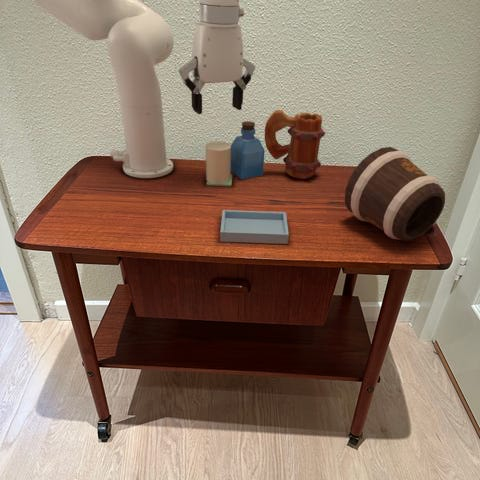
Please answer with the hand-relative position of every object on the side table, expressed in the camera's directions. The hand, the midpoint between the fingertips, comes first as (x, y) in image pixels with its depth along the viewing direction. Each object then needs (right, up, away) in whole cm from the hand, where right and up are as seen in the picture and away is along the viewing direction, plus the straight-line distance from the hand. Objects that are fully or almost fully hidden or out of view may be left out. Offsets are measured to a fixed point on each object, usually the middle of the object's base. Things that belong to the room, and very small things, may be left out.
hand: (217, 110), depth 94 cm
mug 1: (+18, -9, +15) cm, 25 cm away
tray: (+8, -28, -8) cm, 30 cm away
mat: (0, -12, +10) cm, 16 cm away
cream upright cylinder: (0, -12, +10) cm, 16 cm away
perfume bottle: (+7, -9, +15) cm, 18 cm away
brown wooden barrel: (+34, -17, -4) cm, 38 cm away
